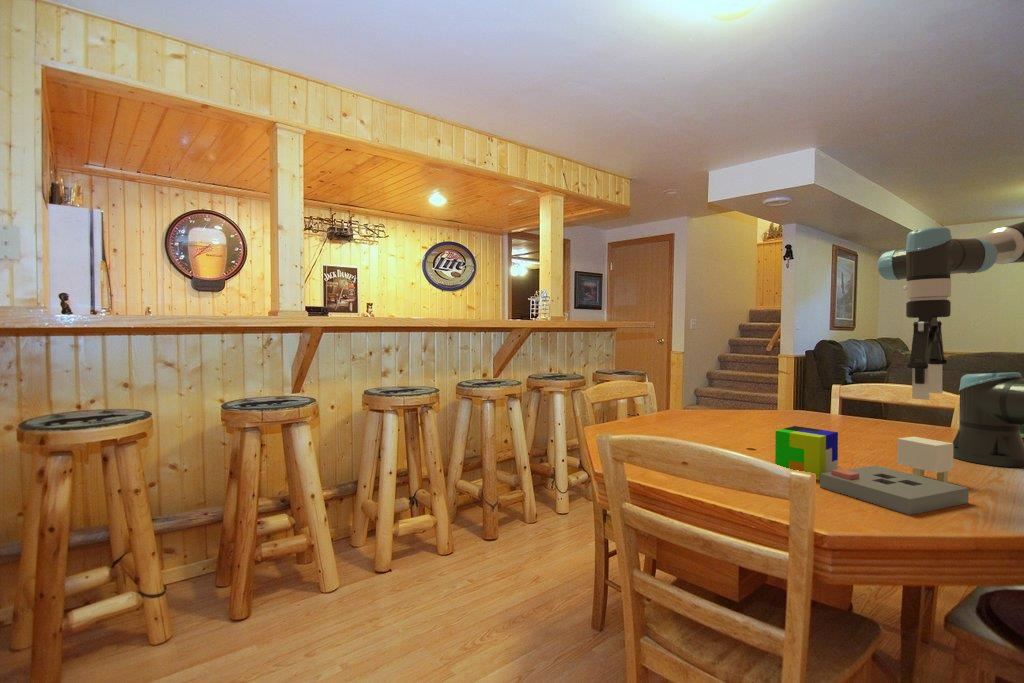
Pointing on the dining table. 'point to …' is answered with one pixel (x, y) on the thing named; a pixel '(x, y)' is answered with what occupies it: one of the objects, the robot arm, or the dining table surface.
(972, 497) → the dining table surface
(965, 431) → the robot arm
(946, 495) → the socket plate
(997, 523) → the dining table surface
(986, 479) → the dining table surface
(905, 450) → the plug
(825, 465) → the puzzle toy
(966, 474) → the dining table surface
